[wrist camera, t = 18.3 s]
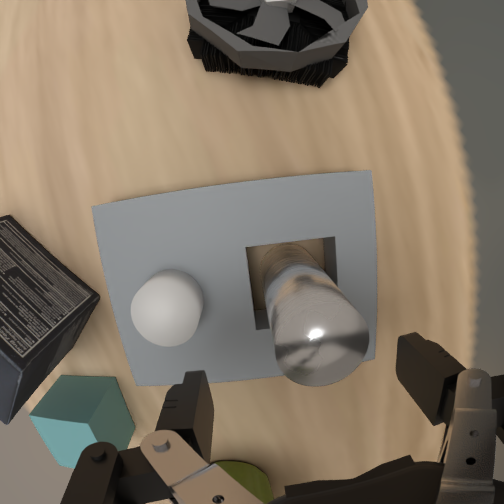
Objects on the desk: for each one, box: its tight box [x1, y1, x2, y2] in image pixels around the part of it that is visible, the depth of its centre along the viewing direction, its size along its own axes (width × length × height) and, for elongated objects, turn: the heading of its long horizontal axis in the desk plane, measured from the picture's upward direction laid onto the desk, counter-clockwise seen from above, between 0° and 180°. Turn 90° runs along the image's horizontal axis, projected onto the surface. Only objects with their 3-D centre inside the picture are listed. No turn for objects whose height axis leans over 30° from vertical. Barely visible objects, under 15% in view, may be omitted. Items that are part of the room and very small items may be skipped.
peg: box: [260, 244, 369, 386], centre depth 16 cm, size 4×4×10 cm
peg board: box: [92, 170, 377, 386], centre depth 18 cm, size 12×16×5 cm
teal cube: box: [29, 375, 135, 469], centre depth 20 cm, size 6×6×6 cm
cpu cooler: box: [186, 0, 368, 88], centre depth 15 cm, size 10×6×10 cm
